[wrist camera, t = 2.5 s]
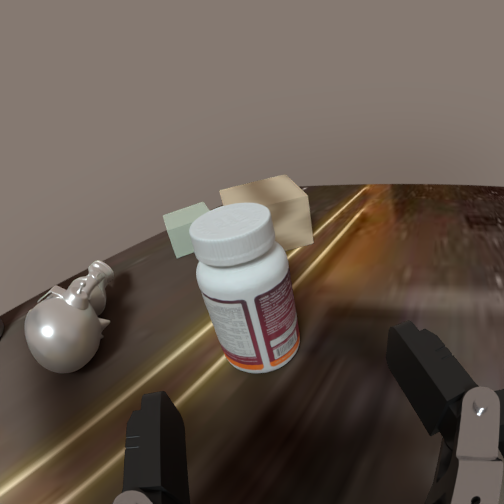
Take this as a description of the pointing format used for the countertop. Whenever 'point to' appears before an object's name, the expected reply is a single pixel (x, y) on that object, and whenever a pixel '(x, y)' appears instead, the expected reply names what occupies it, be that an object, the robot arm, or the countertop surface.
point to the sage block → (183, 227)
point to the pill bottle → (246, 286)
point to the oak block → (278, 208)
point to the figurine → (69, 322)
